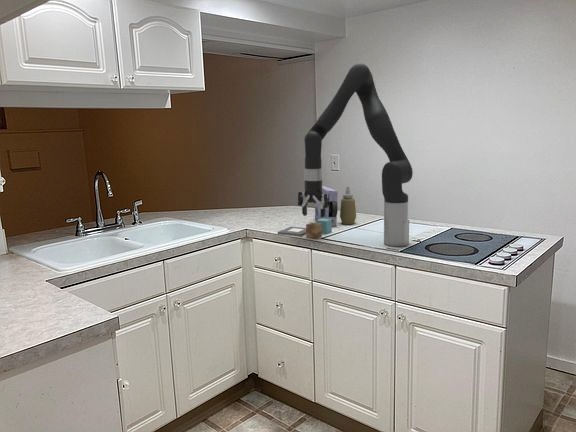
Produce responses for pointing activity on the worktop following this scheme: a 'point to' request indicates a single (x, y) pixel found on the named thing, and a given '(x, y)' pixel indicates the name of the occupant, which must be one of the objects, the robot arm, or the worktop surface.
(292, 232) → the base board
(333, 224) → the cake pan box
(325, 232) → the teal block
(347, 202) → the squeeze bottle
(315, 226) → the walnut block
